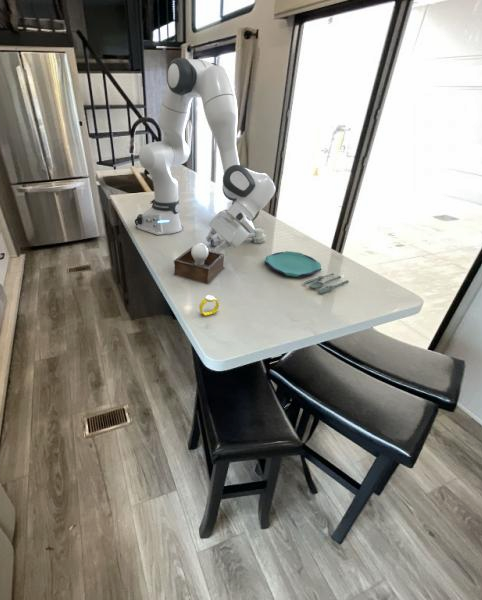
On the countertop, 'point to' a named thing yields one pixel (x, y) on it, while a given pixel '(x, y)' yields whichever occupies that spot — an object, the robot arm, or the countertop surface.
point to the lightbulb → (199, 253)
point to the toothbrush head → (256, 237)
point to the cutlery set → (299, 268)
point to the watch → (209, 299)
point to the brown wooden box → (196, 271)
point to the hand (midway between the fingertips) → (211, 245)
